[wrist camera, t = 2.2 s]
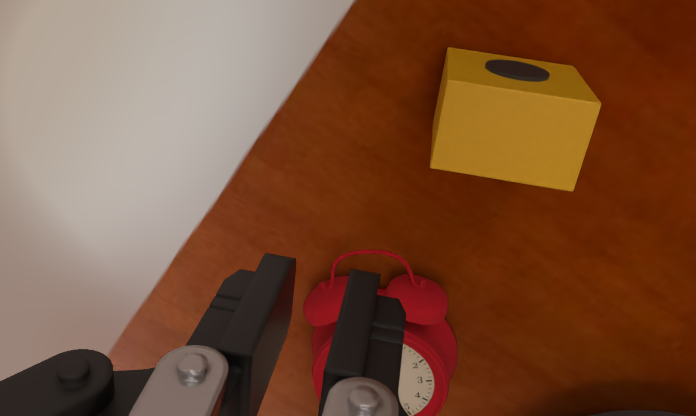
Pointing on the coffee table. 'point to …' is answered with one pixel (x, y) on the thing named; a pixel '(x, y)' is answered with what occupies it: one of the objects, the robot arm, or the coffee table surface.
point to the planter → (637, 413)
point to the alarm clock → (419, 336)
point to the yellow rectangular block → (512, 119)
